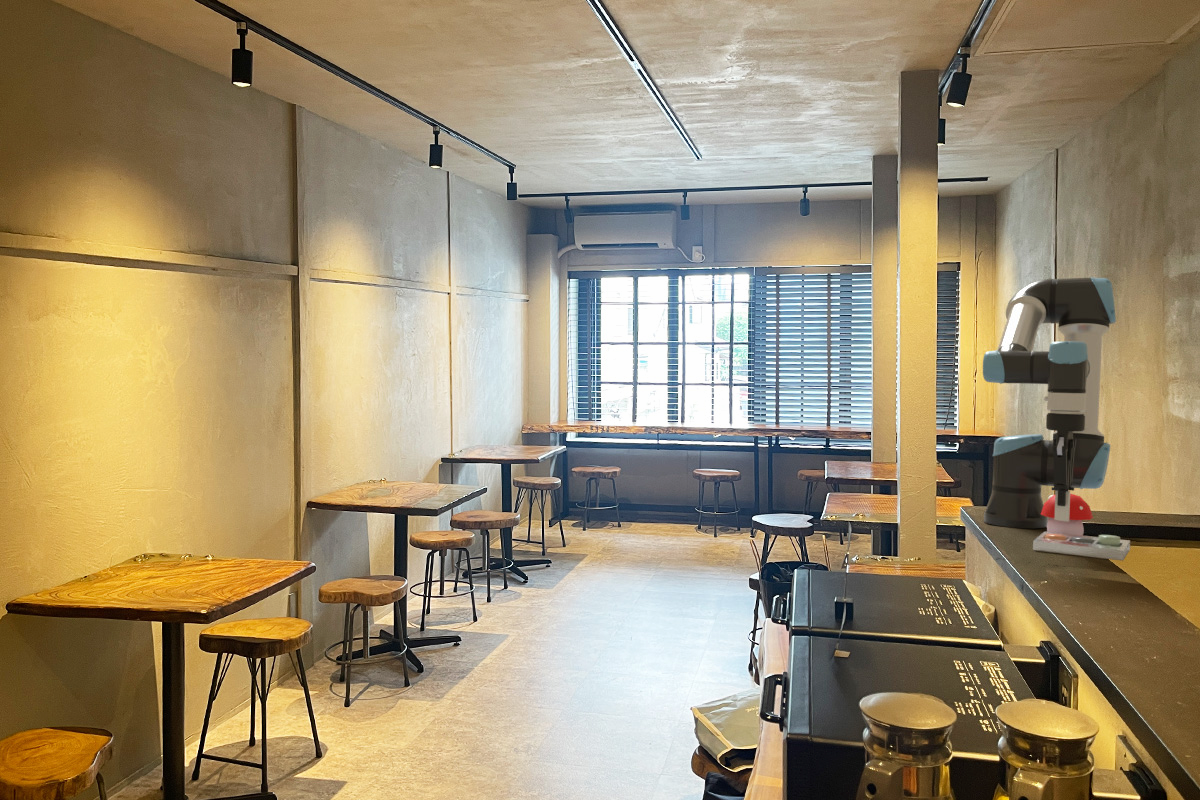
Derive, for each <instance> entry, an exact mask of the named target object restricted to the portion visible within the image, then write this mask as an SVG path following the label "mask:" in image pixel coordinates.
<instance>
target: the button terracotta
mask: <svg viewBox="0 0 1200 800" xmlns="http://www.w3.org/2000/svg"><path fill="white" fill-rule="evenodd" d="M1045 538H1046V539H1055V540H1064V541H1066V536H1065V535H1060V534H1046V535H1045Z"/></svg>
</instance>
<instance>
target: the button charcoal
mask: <svg viewBox="0 0 1200 800" xmlns="http://www.w3.org/2000/svg"><path fill="white" fill-rule="evenodd" d="M1092 540H1093V539H1092V538H1088V537H1077V536H1076V537H1072V541H1073V542H1082V543H1091V544H1092Z"/></svg>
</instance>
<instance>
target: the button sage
mask: <svg viewBox="0 0 1200 800" xmlns="http://www.w3.org/2000/svg"><path fill="white" fill-rule="evenodd" d="M1098 537H1099V544H1101V545H1110V546H1119V547H1120V540H1121V536H1117V535H1114V534H1113V535H1111V534H1098Z"/></svg>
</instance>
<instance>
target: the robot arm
mask: <svg viewBox="0 0 1200 800" xmlns="http://www.w3.org/2000/svg"><path fill="white" fill-rule="evenodd" d="M1115 307H1116V306H1115V298H1114V290H1113V283H1112V281H1111V280H1110V279H1109V278H1106V277H1093V276H1090V277H1075V278H1045V279H1040V280H1037V281H1035V282H1032V283H1029V284H1027V285H1025V286H1024V287H1023V288H1021V289H1020V290H1018V291H1017V292H1016V293H1015V294H1014V295H1013V296H1012V297H1011V299H1010V300H1009V301H1008V303H1007V305H1006V309H1005V317H1006V321H1005V322H1006V323H1005V324H1004V325H1005V326H1004V328H1003V331H1002V335H1001V338H1000V341H999V344H998V347H997V350H996V349H995V350H988V351H986V352H985V353H984V355H983V359H982V377H983V380H984V381H985V382H987V383H991V384H992V383H995V384H1000V385H1001V384H1026V385H1027V384H1030V385H1031V384H1032V385H1033V384H1036V385H1047V396H1044V401H1045V402H1047V403H1046V410H1048V411H1049V412H1047V414H1046V422H1045V428H1046V430H1048V431H1054V432H1052V439H1051V440H1049V439H1048V440H1047V439H1045V440H1044V435H1043V434H1041V433H1040V434H1039V433H1037V434H1036V433H1035V434H1034V433H1032V434H1030V433H1029V434H1019V435H1018V434H1017V435H1007V436H1002V437H998V438H997V439H995V440H994V443H993V453H992V457H993V459H992V460H993V461H992V484H991V485H992V487H991V495H990V497H989V500H988V502H987V504H986V508H985V510H984V514H983V521H984V523H986V524H989V525H993V526H998V527H999V526H1000V527H1005V528H1015V529H1043V528H1044V529H1045V528H1047V523H1048V519H1049V517H1046V516H1044V515H1041V512H1042V509H1043V506H1044V501H1043V498H1042V486H1046V487H1051V491H1054V493H1055V494H1054V495H1055V518H1054V520H1058V521H1069V514H1070V494H1071V491H1075V489H1080V490H1083V489H1091V490H1092V489H1093V490H1094V489H1095V490H1096V489H1099V488H1101V487H1102V486H1103V484H1104V482H1105V479H1106V474H1107V470H1108V464H1109V459H1110V452H1111V444H1110V443H1108V442H1105V435H1104V434H1103V433H1102V432H1101V431H1100V430H1099V413H1100V411H1099V409H1100V392H1101V391H1100V390H1101V387H1100V386H1101V384H1100V383H1101V367H1102V366H1101V365H1102V348H1103V347H1102V345H1103V336H1105V334H1107V333H1108V332H1109V331H1110V325H1113V324H1115V323H1116V322H1117V318H1116V310H1115V309H1116V308H1115ZM1042 324H1058V328H1057V329H1058V331H1059V332H1060V333H1061V334H1062V335H1063V336H1064V341H1060V340H1059V341H1053V342H1051V343H1050V344H1049V349H1048V351H1042V350H1041V351H1039V350H1038V351H1037V350H1033V349H1034V345H1035V342H1036V338H1037V335H1038V331H1039V327H1040V326H1041V325H1042Z"/></svg>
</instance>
